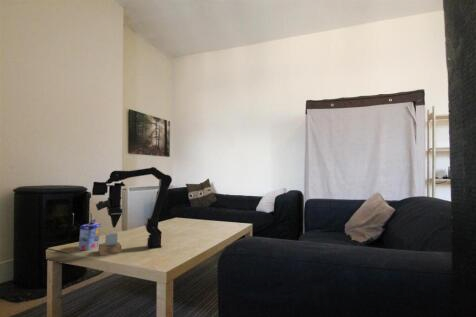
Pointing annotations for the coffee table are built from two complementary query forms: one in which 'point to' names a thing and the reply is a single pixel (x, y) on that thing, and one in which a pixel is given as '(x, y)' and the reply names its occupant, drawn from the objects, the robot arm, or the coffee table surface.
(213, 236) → the coffee table surface
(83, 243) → the ink cartridge box
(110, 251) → the walnut block
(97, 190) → the robot arm
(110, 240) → the slate cube
